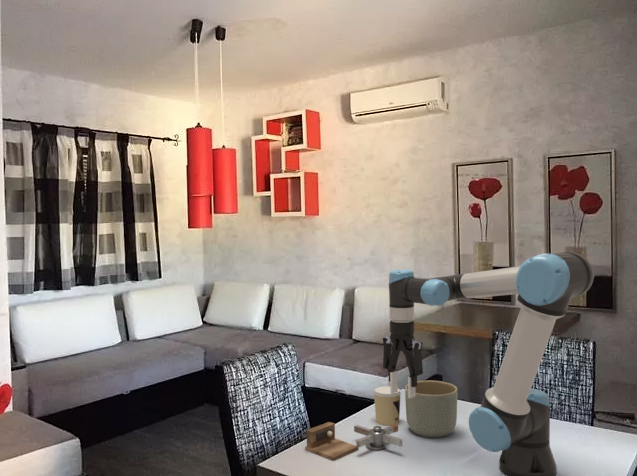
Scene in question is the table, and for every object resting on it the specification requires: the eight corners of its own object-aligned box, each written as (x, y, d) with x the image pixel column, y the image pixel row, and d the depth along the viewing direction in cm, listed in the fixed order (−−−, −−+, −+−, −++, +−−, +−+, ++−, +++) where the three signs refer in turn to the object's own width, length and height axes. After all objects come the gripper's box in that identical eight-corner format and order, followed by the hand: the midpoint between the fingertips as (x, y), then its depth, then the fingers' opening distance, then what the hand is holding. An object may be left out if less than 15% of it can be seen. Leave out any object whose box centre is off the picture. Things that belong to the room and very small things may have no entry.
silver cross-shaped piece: (419, 446, 181) (419, 426, 181) (382, 464, 168) (381, 443, 168) (374, 431, 194) (374, 413, 193) (336, 447, 181) (335, 428, 181)
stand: (398, 450, 181) (398, 427, 180) (352, 471, 166) (352, 447, 166) (351, 434, 195) (350, 413, 194) (305, 453, 180) (304, 430, 180)
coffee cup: (400, 429, 198) (399, 394, 197) (372, 428, 200) (372, 393, 199) (402, 420, 207) (401, 386, 207) (375, 418, 209) (375, 385, 208)
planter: (403, 441, 188) (402, 393, 187) (408, 422, 204) (407, 379, 204) (457, 445, 184) (457, 396, 183) (458, 426, 200) (457, 381, 200)
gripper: (435, 322, 176) (435, 398, 177) (385, 315, 190) (386, 386, 191) (420, 325, 171) (421, 404, 172) (370, 318, 184) (371, 391, 185)
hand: (402, 394), depth 181 cm, fingers open, 6 cm apart
